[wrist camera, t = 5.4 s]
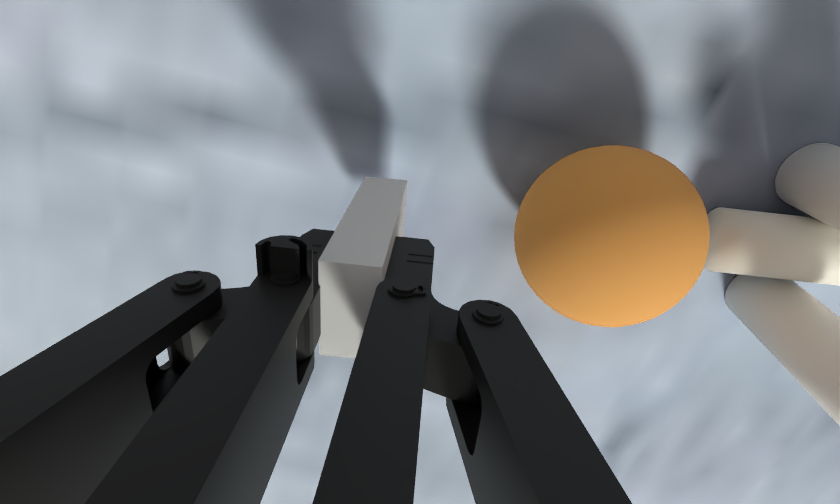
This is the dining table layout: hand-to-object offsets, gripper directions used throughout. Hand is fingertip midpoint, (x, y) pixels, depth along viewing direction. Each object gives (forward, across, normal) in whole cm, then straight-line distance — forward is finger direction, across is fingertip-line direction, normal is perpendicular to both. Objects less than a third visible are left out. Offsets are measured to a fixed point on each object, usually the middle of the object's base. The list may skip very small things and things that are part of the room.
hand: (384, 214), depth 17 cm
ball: (-1, +8, 0) cm, 8 cm away
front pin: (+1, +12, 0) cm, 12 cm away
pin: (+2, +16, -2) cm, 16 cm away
